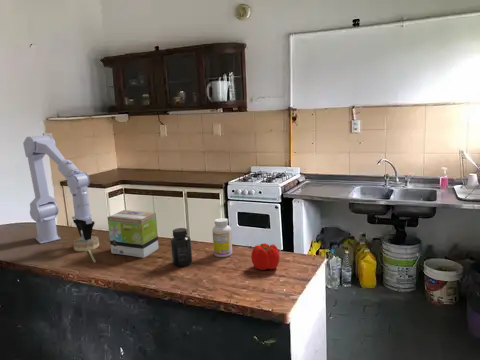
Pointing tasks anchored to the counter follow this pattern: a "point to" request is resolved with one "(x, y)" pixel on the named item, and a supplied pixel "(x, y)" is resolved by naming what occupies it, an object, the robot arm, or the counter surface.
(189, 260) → the supplement bottle
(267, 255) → the red bell pepper
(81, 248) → the bead
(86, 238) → the robot arm
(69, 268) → the counter surface
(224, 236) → the supplement bottle
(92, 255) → the strip
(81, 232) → the white-tipped blue cylinder
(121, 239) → the tea box
